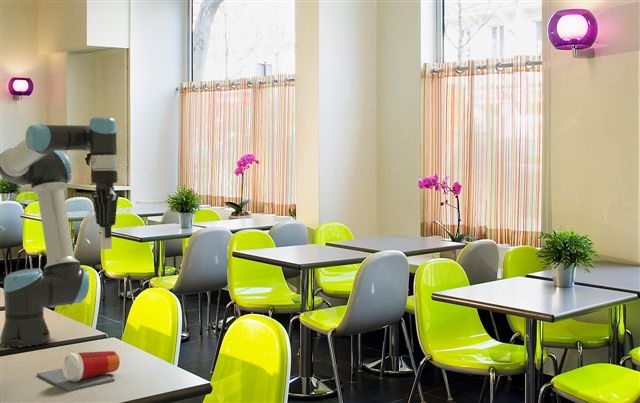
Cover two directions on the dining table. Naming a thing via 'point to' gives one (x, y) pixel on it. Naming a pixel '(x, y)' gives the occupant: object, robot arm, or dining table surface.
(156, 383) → the dining table surface
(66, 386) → the mat
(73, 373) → the paper cup
